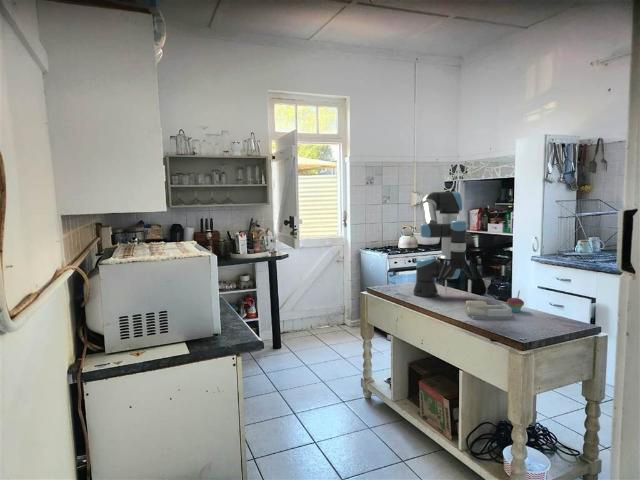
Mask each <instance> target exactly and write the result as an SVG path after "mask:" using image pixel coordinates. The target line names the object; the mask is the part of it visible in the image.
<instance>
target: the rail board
mask: <svg viewBox="0 0 640 480" xmlns="http://www.w3.org/2000/svg"><path fill="white" fill-rule="evenodd" d="M464 313H466V309H465V310H464ZM467 315H468V316H469V317H470V318H471V320H508V321H509V320H510V319H515V318H514V316H513V315H512V308H510V307H509V305H508V304H507V303H506V304H505V303H501V302H500V304H487V315H469V314H467Z"/></svg>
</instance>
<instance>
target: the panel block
mask: <svg viewBox="0 0 640 480" xmlns="http://www.w3.org/2000/svg"><path fill="white" fill-rule="evenodd" d="M487 305H488V303H487V302H486V301H485V300H466V301H465V310H466V312H465V314H466V315H468V314H469V315H487ZM469 315H468V316H469Z"/></svg>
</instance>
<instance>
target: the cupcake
mask: <svg viewBox="0 0 640 480" xmlns="http://www.w3.org/2000/svg"><path fill="white" fill-rule="evenodd" d="M520 293H521V289H519V290H518V293H517V297H510V298H508V299H507V300H506V305H507V306H509V307H510V308H512V312H513V313H519V312H521V309H522V307H523V306H524V305H525V301H524V300H522V299H521V298H519V297H520Z"/></svg>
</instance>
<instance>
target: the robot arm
mask: <svg viewBox="0 0 640 480" xmlns="http://www.w3.org/2000/svg"><path fill="white" fill-rule="evenodd" d="M460 193H461V192H459V191H433V192H430V193H428V194H426V195H425V196H423V198H422V199H421V201H420V204H419V207H420V208H419V209H420V210H421V212H422V219H423V220H422V221H423V223H421V224H420V237H422V238H429V239H430V238H431V239H433V238H436V239H437V238H441V254H440V255H439V256H438V259H436V257H422V258H419V259H417V261H416V264H415V265H416V267H415V268H416V270H415V271H416V272H415V273H416V278H415V285H414V288H413V292H412V293H413V295H414V296H416V297H423V298H424V297H425V298H432V297H437V296H438V295H439V290H438V288H437V285H436V279H438V280H441V285H442V287H443V293H444V294H447V293H448V291H447V290H448V280H454V279H458V278H459V276H460V275H461V271H462V270H463V272H464V273H465V274H466V276H467V277H468V278H469V279H468V280H467V293H468V294H472V287H473V286H474V280H477V279H478V277H477V274H476V272H475V269H474V267H473V261H472V260H470V259H469V260H467V259H466V258H467V253H466V250H467V228H468V227H467V222H466V220H457V218H458V216H459V215H460V212H461V211H462V210H463V200H462V196H461V194H460ZM437 212H439V215H440V216H441V223H438V217H437V216H438V215H437ZM466 265H467V266H468V268H469V270H470V272H469V270H468V269H467V268H466ZM447 279H448V280H447Z"/></svg>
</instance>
